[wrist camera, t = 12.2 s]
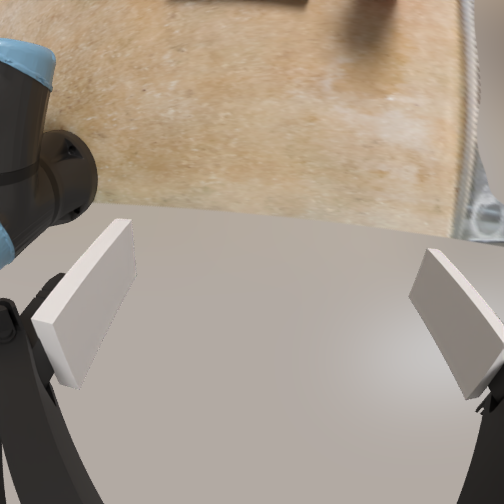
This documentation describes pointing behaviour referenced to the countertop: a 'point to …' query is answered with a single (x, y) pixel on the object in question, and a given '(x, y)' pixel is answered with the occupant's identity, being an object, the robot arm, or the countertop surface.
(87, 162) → the robot arm
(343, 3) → the countertop surface
